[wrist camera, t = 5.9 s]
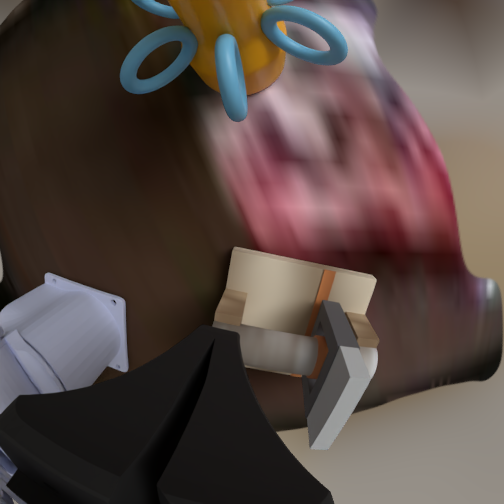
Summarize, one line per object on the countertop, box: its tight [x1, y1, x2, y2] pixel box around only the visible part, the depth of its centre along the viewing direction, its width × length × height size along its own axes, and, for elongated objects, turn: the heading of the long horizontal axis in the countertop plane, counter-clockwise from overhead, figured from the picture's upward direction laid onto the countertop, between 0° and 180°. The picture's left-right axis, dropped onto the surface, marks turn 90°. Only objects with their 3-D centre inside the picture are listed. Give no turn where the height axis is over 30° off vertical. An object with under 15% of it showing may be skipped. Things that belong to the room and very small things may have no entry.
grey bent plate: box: [302, 300, 371, 450], centre depth 14 cm, size 1×5×8 cm, turn 169°
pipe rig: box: [212, 247, 379, 379], centre depth 17 cm, size 10×9×6 cm
